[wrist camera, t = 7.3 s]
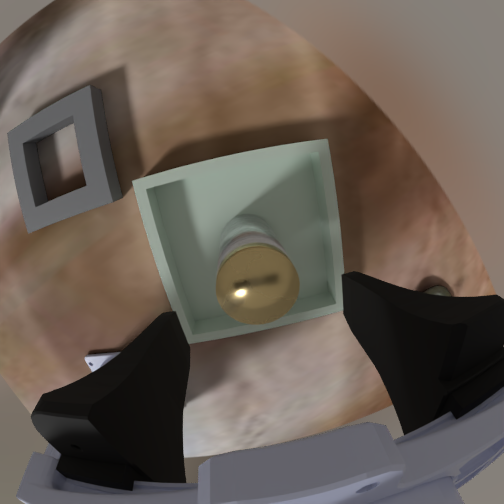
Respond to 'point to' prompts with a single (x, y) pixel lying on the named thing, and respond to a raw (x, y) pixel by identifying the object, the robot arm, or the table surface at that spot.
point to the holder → (91, 153)
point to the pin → (254, 272)
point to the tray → (238, 203)
